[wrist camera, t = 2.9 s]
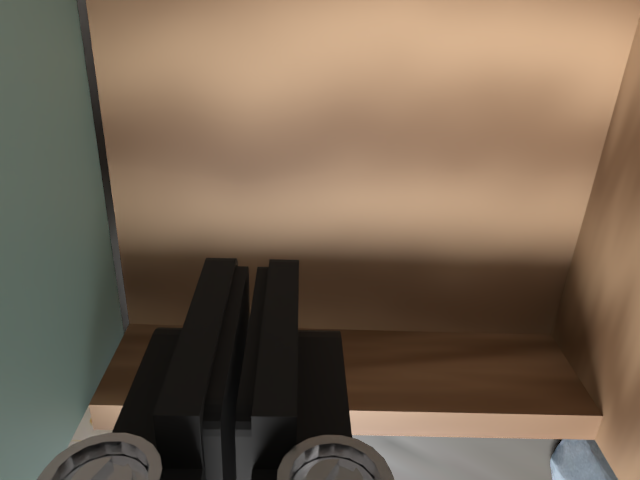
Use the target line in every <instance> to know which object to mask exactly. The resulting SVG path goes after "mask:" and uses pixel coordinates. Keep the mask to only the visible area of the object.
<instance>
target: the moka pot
mask: <svg viewBox="0 0 640 480" xmlns="http://www.w3.org/2000/svg"><path fill="white" fill-rule="evenodd" d="M550 467H551V473H552V480H618V478H617V477H616V475H615V473H614V472H613V470H612V468H611V467H610V465H609V463H608V461H607V460H606V458H605V456H604V455H603V453H602V451H601V450H600V448H599V446H598V445H597V443H596V441H595V440H579V439H563V440H562V441H561V442H560V444H559V445H558V446H557V448H556V449H555V451H554V453H553V454H552V457H551V460H550Z"/></svg>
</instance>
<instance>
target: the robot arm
mask: <svg viewBox="0 0 640 480" xmlns="http://www.w3.org/2000/svg"><path fill="white" fill-rule="evenodd" d="M298 302H299V260H285V259H269V267H257V273H256V279H255V286H254V292H253V299H252V305H251V312H250V301H249V267H248V266H238V260H237V258H206V259H205V262H204V265H203V268H202V271H201V274H200V277H199V280H198V283H197V286H196V289H195V292H194V295H193V298H192V301H191V304H190V307H189V310H188V313H187V316H186V319H185V322H184V324H183V327H182V328H163V327H158V328H156V329H155V331H154V332H153V334H152V337H151V339H150V341H149V344H148V346H147V349H146V351H145V353H144V356H143V358H142V361H141V363H140V366H139V368H138V370H137V373H136V375H135V378H134V380H133V382H132V385H131V387H130V390H129V392H128V395H127V397H126V399H125V402H124V404H123V407H122V409H121V412H120V414H119V416H118V419H117V421H116V424H115V426H114V428H113V431H112V433H105V434H101V435H96V436H91V437H89V438H86V439H84V440H82V441H79V442H77V443H75V444H72V445H71V446H70V447H68V448H67V449H65V450H64V451H62V452H61V453H59V454H58V455H56V457H55V458H54V459H53V460H52V461H51V462H50V463H49V464H48V465H47V466H46V467H45V469H44V470H43V471H42V473H41V474H40V475H39V477H38V478H37V480H394V477H393V475H392V472H391V470H390V468H389V466H388V465H387V463H386V461H385V459H384V458H383V457H382V456H381V455H380V454H379V453H378V452H377V451H376V450H375V449H374V448H373V447H371V446H369V445H367V444H365V443H364V442H362V441H360V440H358V439H355V438H352V432H351V422H350V413H349V403H348V394H347V385H346V375H345V366H344V356H343V347H342V337H341V332H340V331H330V330H298Z"/></svg>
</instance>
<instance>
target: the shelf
mask: <svg viewBox="0 0 640 480" xmlns="http://www.w3.org/2000/svg"><path fill="white" fill-rule="evenodd" d="M86 6H87V14H88V21H89V29H90V36H91V43H92V51H93V58H94V66H95V73H96V80H97V88H98V95H99V103H100V110H101V117H102V125H103V132H104V140H105V147H106V155H107V162H108V169H109V177H110V184H111V192H112V199H113V206H114V214H115V221H116V229H117V236H118V244H119V251H120V258H121V266H122V273H123V281H124V288H125V295H126V303H127V310H128V318H129V326H128V328H127V330H126V332H125V333H124V335H123V337H122V339H121V341H120V343H119V345H118V347H117V349H116V351H115V353H114V355H113V357H112V359H111V361H110V363H109V365H108V367H107V369H106V371H105V373H104V375H103V377H102V379H101V381H100V383H99V385H98V387H97V389H96V391H95V393H94V395H93V397H92V399H91V401H90V403H89V409H90V415H91V420H92V425H93V430H113V428H114V426H115V424H116V421H117V419H118V416H119V414H120V412H121V409H122V407H123V404H124V402H125V399H126V397H127V395H128V392H129V390H130V387H131V385H132V382H133V380H134V378H135V375H136V373H137V370H138V368H139V366H140V363H141V361H142V358H143V356H144V353H145V351H146V349H147V346H148V344H149V341H150V339H151V337H152V334H153V332H154V331H155V329H156V328H158V327H163V328H182V327H183V324H184V322H185V319H186V316H187V313H188V310H189V307H190V304H191V301H192V298H193V295H194V292H195V289H196V286H197V283H198V280H199V277H200V274H201V271H202V268H203V265H204V262H205V259H206V258H237V260H238V266H248V267H249V301H250V312H251V305H252V299H253V292H254V286H255V279H256V273H257V267H269V259H285V260H299V302H298V330H330V331H340V332H341V337H342V347H343V356H344V366H345V375H346V385H347V394H348V403H349V413H350V422H351V432H352V435H381V436H430V437H480V438H529V439H579V440H595V441H596V443H597V445H598V446H599V448H600V450H601V451H602V453H603V455H604V456H605V458H606V460H607V461H608V463H609V465H610V467H611V468H612V470H613V472H614V473H615V475H616V477H617V478H618V480H640V0H86Z"/></svg>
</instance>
